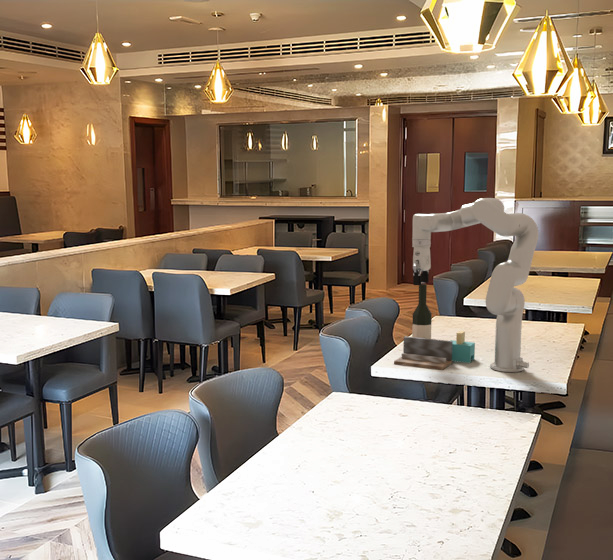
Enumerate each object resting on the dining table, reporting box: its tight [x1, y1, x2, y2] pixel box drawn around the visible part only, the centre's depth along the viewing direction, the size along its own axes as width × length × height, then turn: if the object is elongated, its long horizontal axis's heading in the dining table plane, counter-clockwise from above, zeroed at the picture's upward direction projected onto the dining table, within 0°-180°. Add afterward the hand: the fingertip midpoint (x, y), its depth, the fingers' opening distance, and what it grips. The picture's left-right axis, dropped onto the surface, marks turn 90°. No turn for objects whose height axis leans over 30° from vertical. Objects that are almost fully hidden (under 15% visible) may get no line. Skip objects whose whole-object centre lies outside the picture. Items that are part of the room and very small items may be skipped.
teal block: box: [450, 330, 476, 364], centre depth 287 cm, size 10×7×12 cm
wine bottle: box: [411, 282, 433, 339], centre depth 299 cm, size 8×8×30 cm
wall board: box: [393, 336, 454, 371], centre depth 281 cm, size 20×12×9 cm, turn 62°
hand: (421, 283), depth 298 cm, fingers open, 9 cm apart
